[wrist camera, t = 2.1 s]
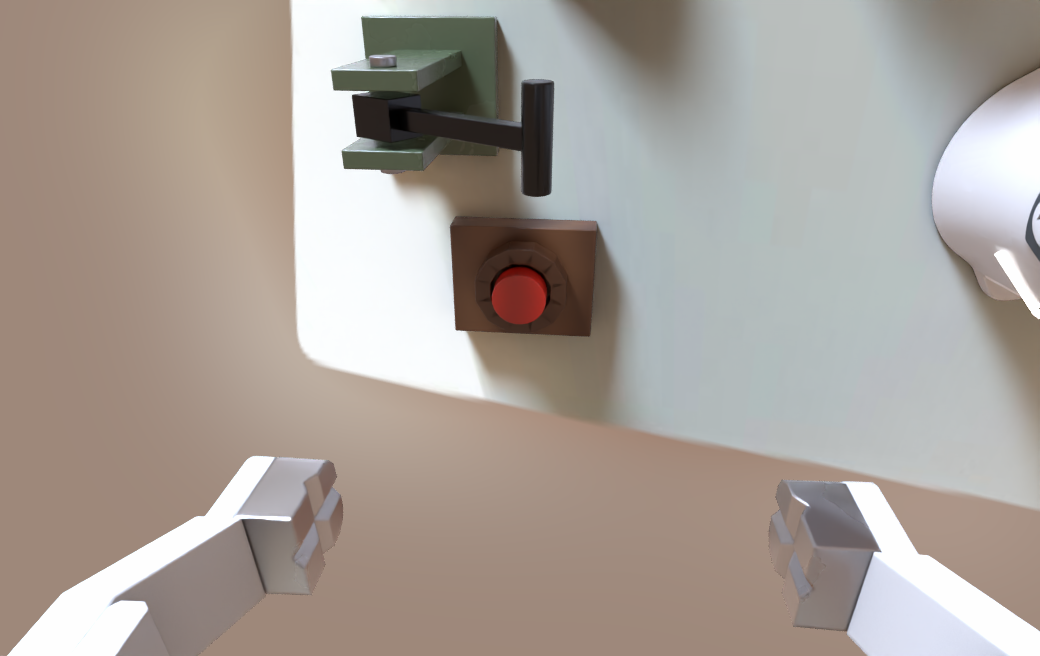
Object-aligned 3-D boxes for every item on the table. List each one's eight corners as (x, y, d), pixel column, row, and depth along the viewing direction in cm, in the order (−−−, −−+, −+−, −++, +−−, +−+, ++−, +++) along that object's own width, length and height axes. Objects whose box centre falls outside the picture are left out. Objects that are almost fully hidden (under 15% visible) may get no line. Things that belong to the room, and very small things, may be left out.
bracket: (497, 16, 42) (460, 26, 30) (498, 152, 46) (467, 208, 34) (366, 15, 43) (279, 24, 31) (380, 149, 47) (308, 203, 35)
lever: (566, 79, 28) (535, 85, 26) (562, 190, 30) (533, 201, 29) (382, 62, 34) (348, 66, 33) (391, 154, 37) (359, 162, 35)
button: (547, 267, 46) (546, 276, 45) (546, 315, 48) (545, 325, 47) (494, 265, 47) (491, 274, 45) (495, 313, 49) (492, 323, 47)
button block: (596, 220, 48) (597, 238, 45) (590, 324, 52) (590, 348, 49) (455, 216, 49) (445, 233, 45) (460, 318, 53) (451, 341, 50)
